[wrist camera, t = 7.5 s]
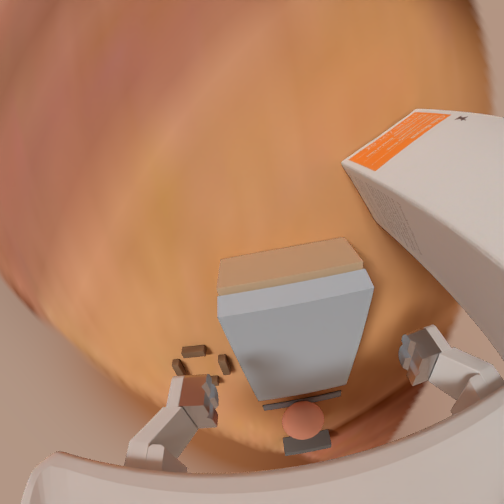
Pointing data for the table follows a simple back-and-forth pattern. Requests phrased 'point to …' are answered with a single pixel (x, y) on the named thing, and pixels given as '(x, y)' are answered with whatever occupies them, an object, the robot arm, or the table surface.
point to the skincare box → (444, 203)
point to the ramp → (295, 315)
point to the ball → (303, 420)
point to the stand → (197, 352)
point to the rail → (307, 443)
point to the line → (310, 399)
